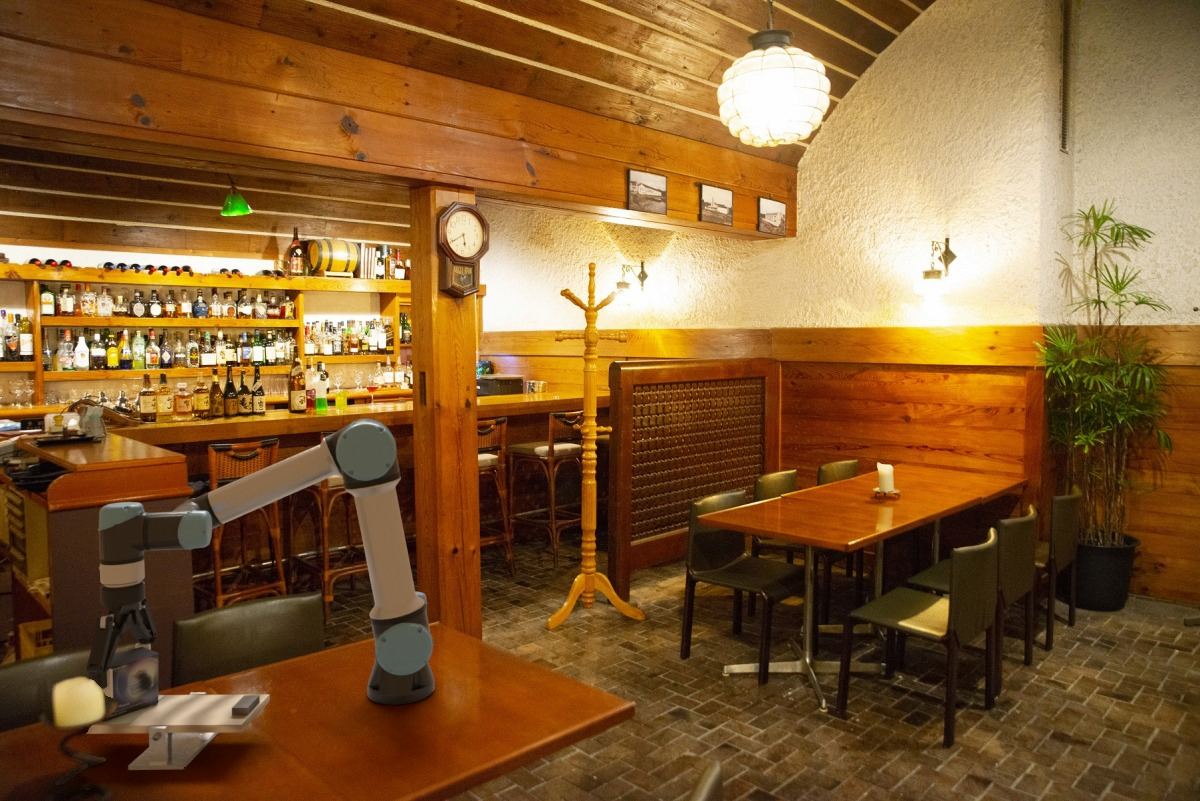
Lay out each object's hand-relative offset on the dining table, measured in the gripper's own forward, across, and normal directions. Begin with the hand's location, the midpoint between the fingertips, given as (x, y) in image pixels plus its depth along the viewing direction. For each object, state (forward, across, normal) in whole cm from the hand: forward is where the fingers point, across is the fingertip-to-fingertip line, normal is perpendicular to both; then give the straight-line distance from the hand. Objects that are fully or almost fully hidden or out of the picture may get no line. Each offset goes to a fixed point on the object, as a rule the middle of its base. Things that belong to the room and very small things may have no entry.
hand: (124, 689), depth 156 cm
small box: (+4, 0, 0) cm, 4 cm away
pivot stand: (+12, 0, +10) cm, 16 cm away
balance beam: (+6, 0, +10) cm, 12 cm away
